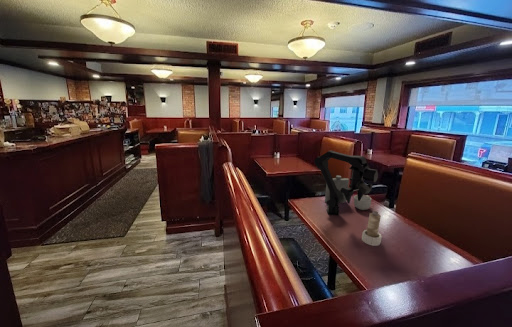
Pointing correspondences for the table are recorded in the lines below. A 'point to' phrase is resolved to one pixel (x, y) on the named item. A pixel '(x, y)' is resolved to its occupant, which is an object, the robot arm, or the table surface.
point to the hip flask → (339, 184)
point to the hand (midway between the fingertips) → (353, 202)
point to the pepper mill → (373, 224)
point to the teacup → (362, 202)
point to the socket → (371, 239)
